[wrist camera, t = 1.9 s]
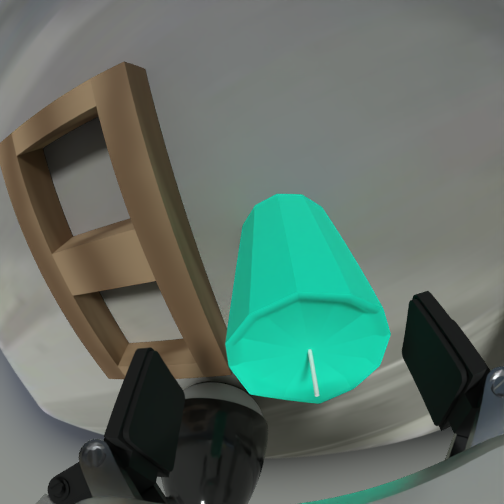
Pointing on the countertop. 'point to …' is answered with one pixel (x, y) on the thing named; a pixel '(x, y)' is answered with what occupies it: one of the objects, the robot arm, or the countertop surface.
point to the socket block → (117, 228)
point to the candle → (301, 307)
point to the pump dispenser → (217, 447)
